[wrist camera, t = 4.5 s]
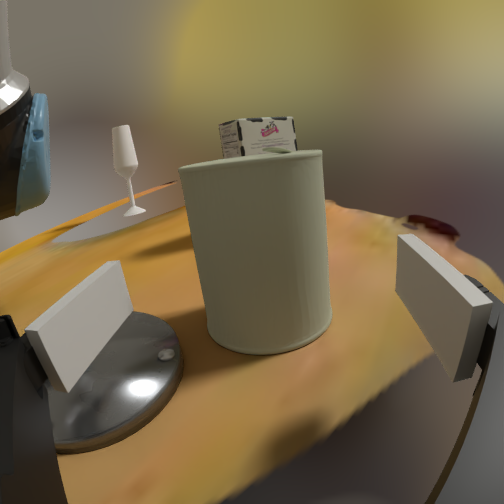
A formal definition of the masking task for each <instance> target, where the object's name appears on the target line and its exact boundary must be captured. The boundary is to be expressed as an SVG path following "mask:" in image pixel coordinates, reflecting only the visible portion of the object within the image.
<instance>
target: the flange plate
mask: <svg viewBox="0 0 504 504" xmlns="http://www.w3.org/2000/svg"><path fill="white" fill-rule="evenodd" d="M182 373H183V356H182V352H181V348H180V345H179V342H178V338H177V336H176V334H175V332H174V330H173V329H172V328H171V326H169V325H168V324H167V323H166V322H165V321H163V320H161V319H160V318H158V317H155V316H153V315H149V314H146V313H141V312H133V311H132V312H131V314H130V315H129V316H128V317H127V318H126V320H125V321H124V322H123V323H122V325H121V326H120V327H119V328H118V330H117V331H116V332H115V333H114V335H113V336H112V337H111V338H110V340H109V341H108V342H107V343H106V345H105V346H104V347H103V349H102V350H101V351H100V352H99V354H98V355H97V356H96V357H95V359H94V360H93V361H92V363H91V364H90V365H89V367H88V368H87V369H86V370H85V372H84V373H83V374H82V376H81V377H80V378H79V380H78V381H77V382H76V384H75V385H74V386H73V388H72V389H71V390H70V392H69V393H65V392H60V391H56V390H54V388H53V386H52V385H51V383H50V381H49V379H47V380H46V381H45V382H44V385H45V387H46V389H47V391H48V400H49V410H50V418H51V425H52V432H53V438H54V444H55V450H56V453H60V454H71V453H82V452H88V451H93V450H97V449H100V448H103V447H106V446H109V445H112V444H114V443H116V442H118V441H121V440H123V439H125V438H127V437H128V436H130V435H132V434H133V433H135V432H137V431H138V430H140V429H141V428H142V427H144V426H145V425H146V424H148V423H149V422H150V421H151V420H152V419H153V418H155V417H156V416H157V415H158V414H159V413H160V412H161V411H162V410H163V408H164V407H165V406H166V405H167V404H168V402H169V401H170V400H171V398H172V396H173V395H174V393H175V392H176V390H177V388H178V385H179V383H180V381H181V377H182Z"/></svg>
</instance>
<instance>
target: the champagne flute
mask: <svg viewBox="0 0 504 504" xmlns="http://www.w3.org/2000/svg"><path fill="white" fill-rule="evenodd" d="M112 138H113V139H112V140H113V157H114V170H115V171H116V172H117V173H118V174H119V175H120V176H122V177H123V178H126V181H127V187H128V192H129V198H130V203H131V208H130V209H129V210H128V211H127V212H126V213H125V214H124V215H123V216H131V215H136V214H139V213H142V212H145V211H146V210H144V209H142V208H139V207H137V206H135V202H134V196H133V191H132V185H131V180H130V177H131V176H132V175H133V174H134V172H135V171H136V169H137V166H138V161H137V157H136V154H135V149H134V145H133V141H132V137H131V132H130V128H129V125H123V126H118V127H115V128H113V129H112Z"/></svg>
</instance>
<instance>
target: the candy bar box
mask: <svg viewBox="0 0 504 504" xmlns="http://www.w3.org/2000/svg"><path fill="white" fill-rule="evenodd" d="M219 130H220V137H221V144H222V150H223V156H224V159H227V158H234V157H241V156H249V155H257V154H266V153H273V152H266V151H263V150H262V149H263V148H266V147H281V148H285V149H289V150H291V151H298V150H297V143H296V136H295V128H294V121H293V117H267V118H247V119H238V120H233V121H229V122H225V123H222V124H220V125H219Z"/></svg>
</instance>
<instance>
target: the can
mask: <svg viewBox="0 0 504 504" xmlns="http://www.w3.org/2000/svg"><path fill="white" fill-rule="evenodd" d="M262 150H263V151H266V152H273V153H266V154H257V155H249V156H241V157H234V158H227V159H220V160H215V161H209V162H203V163H198V164H193V165H188V166H184V167H181V168H179V169H178V172H179V174H180V179H181V184H182V189H183V194H184V200H185V205H186V210H187V216H188V221H189V226H190V232H191V237H192V242H193V248H194V253H195V258H196V263H197V268H198V273H199V278H200V283H201V288H202V293H203V298H204V303H205V309H206V315H207V328H208V332H209V334H210V336H211V337H212V338H213V340H214V341H215V342H217V343H218V344H219V345H221V346H223V347H224V348H227V349H229V350H232V351H235V352H239V353H244V354H253V355H269V354H277V353H283V352H287V351H291V350H295V349H297V348H300V347H302V346H305V345H307V344H309V343H311V342H312V341H314V340H315V339H317V338H318V337H320V336H321V335H322V334H323V333H324V332H325V331H326V329H327V328H328V327H329V325H330V323H331V320H332V308H331V305H330V289H329V268H328V247H327V228H326V212H325V197H324V184H323V169H322V151H321V150H301V151H291V150H289V149H285V148H281V147H266V148H263V149H262Z"/></svg>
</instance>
